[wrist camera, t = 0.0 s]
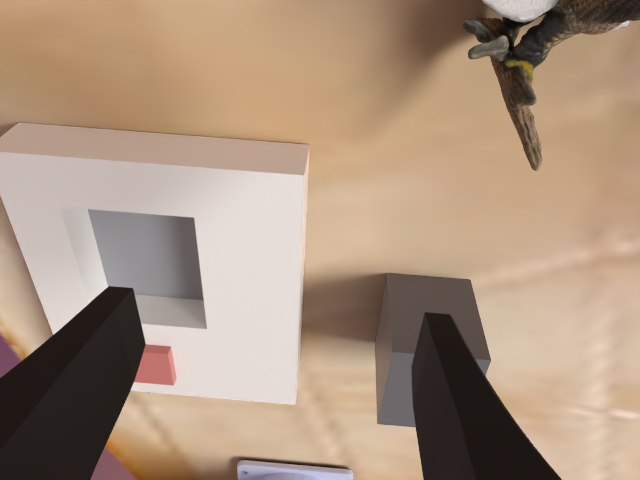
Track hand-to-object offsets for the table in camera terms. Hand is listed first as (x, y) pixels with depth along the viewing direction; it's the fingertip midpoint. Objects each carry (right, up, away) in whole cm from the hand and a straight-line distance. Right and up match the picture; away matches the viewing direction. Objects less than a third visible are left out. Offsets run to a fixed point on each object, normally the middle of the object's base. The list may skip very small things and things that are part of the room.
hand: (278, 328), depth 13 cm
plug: (+6, -1, +13) cm, 15 cm away
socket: (-6, +1, +12) cm, 14 cm away
